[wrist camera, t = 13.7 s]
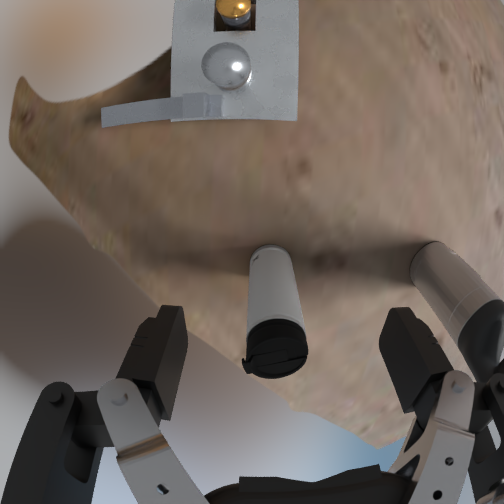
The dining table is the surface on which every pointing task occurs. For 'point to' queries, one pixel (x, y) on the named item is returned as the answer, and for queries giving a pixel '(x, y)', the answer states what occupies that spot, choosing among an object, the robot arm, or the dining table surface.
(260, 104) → the grey metal bracket
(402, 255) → the dining table surface
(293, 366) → the travel mug
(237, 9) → the pin
